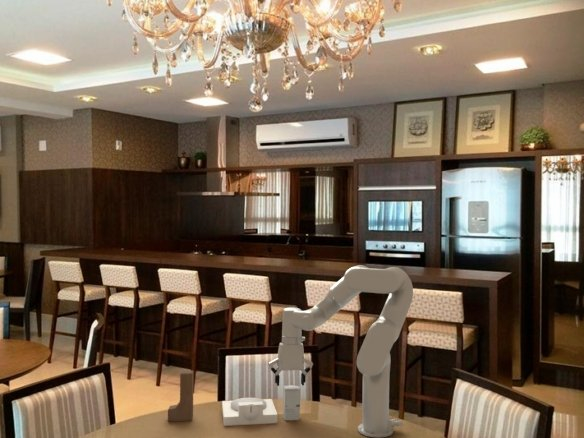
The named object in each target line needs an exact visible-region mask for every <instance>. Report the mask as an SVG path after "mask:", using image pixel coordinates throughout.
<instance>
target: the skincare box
mask: <svg viewBox="0 0 584 438" xmlns="http://www.w3.org/2000/svg"><path fill="white" fill-rule="evenodd" d="M282 410H283V413H282V418H283V420H284V421H300V416H301V414H300V413H301V411H300V410H301V387H300V385H292V384H291V385H290V384H289V385H283V408H282Z"/></svg>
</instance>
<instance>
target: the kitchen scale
mask: <svg viewBox="0 0 584 438" xmlns="http://www.w3.org/2000/svg"><path fill="white" fill-rule="evenodd" d="M221 406H222V407H221V408H222V409H221V410H222V420H223V427H228V426H230V427H231V426H246V425H247V426H249V425H267V424H278V416H279V415H278V412H277V410H276V407H275V405H274V401H273V399H272V398H264V399H263V398H258V397H241V398H236V399H234V400H222V401H221Z"/></svg>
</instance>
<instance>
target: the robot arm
mask: <svg viewBox="0 0 584 438" xmlns="http://www.w3.org/2000/svg"><path fill="white" fill-rule="evenodd" d="M361 293H374V294H384V295H385V294H387V295H388V296H387V298H386V300H385V303H384V306H383V308H382V311H381V312H380V315H379V317H378V318H377V320H376V321H375V322H373V323H372V324H371V325H370V326H369V328H368V330H367V333H366V334H365V338H364V339H363V342H362V345H361V346H360V349H359V351H358V353H357V357H356V367H357V369H358V372H360V373H361V374H362V401H361V402H362V403H361V404H362V405H361V406H362V411H361V412H362V413H361V414H362V415H361V417H362V418H361V419H362V421H361V422H362V423H360V424H359V425H358V426H357V431H358V433H359V434H361V435H363V436H366V437H368V438H387V437H391V436H392V435H393V434H394V427H402V426H403V422H402V420H397V419H396V418H392V419H391V418H390V405H389V404H390V372H391V361H392V360H391V353H390V352H391V350H392V348H393V345H394V344H395V342H397V340H398V338H399V337H400V334H401V331H402V328H403V326H404V323H405V321H406V318H407V316H408V312H409V310H410V308H411V304H412V302H413V298H414V287H413V283H412V279H411V278H410V276H409V275H408V274H407V273H406V271H405V270H403V269H402V268H400V267H397V266H390V267H386V268H370V267H368V266H366V265H363V264H359V265H354V266H352V267H350V268H349V269H347V270H346V271H345V273H344V275H343V276H342V277H341V278H340V279H339V280H338V281H336V282H335V283H334V284H333V285H331V287H330V288H329V289H328V293H327V294H326V295H325V296H324V297H323V299H321V300H320V301H319V302H317V304H315V305H314V306H313V307H312V308H309V309H306V310H302V309H301V308H298V307H294V306H293V307H286V308H284V309H283V310H282V321H281V322H282V323H281V325H282V326H281V328H282V329H281V342H279V344H278V350H277V358H275V359H273V360H271V361H269V362H268V366H269V368H270V371H271V372H272V373H273V374H274V383H275V384H276V386H277V387H280V378H281V377H280V373H281V372H282V371H283V372H284V371H289V372H290V371H291V372H292V371H301V374H300V384H301V385H302V386H305V383H306V379H307V375H308V374H309V372H310V371H311V369H312V368H313V365H314V363H313V361H311V360H309V359H307V358H305V352H304V351H305V350H304V349H305V348H304V344H303V342H304V341H305V342H306V337H305V336H302V333H303V332H302V330H303V331H307V332H309V331H313V330H315V329H317V328H319V327H321V326H323V325H324V324H325V323H326V322H327V321H329V320H330V319H332V317H333V316H335V314H337V313H338V312H339V311H340V310H341V309H343V308H344V307H345V306H347V305H348V304H349V303H350V302H351V301H352V300H353V299H354V298H356V297H357V296H359V294H361ZM305 364H307V366H306V367H305ZM274 365H277V366H276V367H277V368H274Z"/></svg>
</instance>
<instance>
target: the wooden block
mask: <svg viewBox="0 0 584 438" xmlns="http://www.w3.org/2000/svg"><path fill="white" fill-rule="evenodd" d="M194 374H195V373H194V370H181V372H180V375H179V387H180V388H179V402H178V403H177V404H173V405H169V407H168V409H167V421H168V422H192V421H193V418H194Z"/></svg>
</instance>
